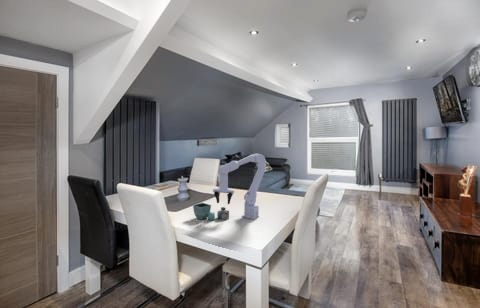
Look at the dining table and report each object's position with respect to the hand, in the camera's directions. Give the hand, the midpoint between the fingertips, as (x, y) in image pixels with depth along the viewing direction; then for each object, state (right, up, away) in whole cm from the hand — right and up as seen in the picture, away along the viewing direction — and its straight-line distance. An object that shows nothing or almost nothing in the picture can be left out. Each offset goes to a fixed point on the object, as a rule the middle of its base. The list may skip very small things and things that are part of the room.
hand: (223, 203), depth 160 cm
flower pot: (-14, -10, 0) cm, 18 cm away
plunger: (0, -9, +1) cm, 9 cm away
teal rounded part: (-8, -10, -3) cm, 13 cm away
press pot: (0, -10, +1) cm, 10 cm away
